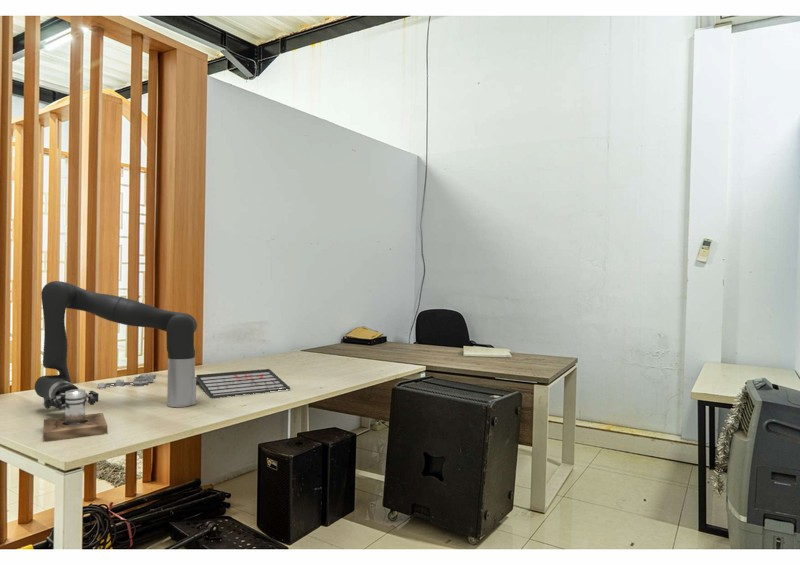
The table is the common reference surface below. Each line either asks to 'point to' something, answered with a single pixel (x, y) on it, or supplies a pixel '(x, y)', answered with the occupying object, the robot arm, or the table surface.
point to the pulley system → (137, 381)
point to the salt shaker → (75, 407)
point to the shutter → (240, 383)
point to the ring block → (74, 427)
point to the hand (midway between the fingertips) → (76, 403)
